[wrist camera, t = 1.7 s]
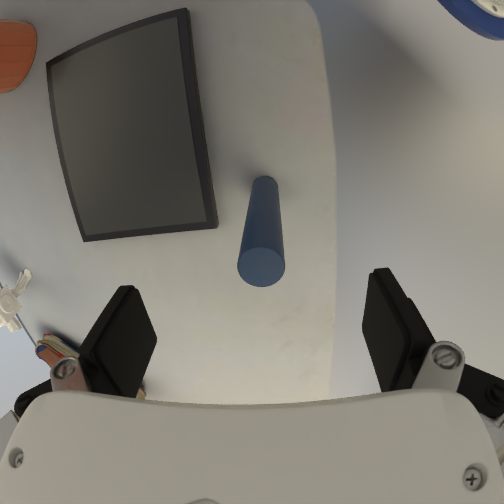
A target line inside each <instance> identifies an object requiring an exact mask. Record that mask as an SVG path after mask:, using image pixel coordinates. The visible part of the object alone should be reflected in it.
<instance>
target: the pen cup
mask: <svg viewBox="0 0 504 504" xmlns="http://www.w3.org/2000/svg"><path fill="white" fill-rule="evenodd" d="M36 46H37V35H36V31H35V28H34V27H33V26H32V24H30V23H27V22H24V21H17V20H7V19H0V93H6V92H9V91H12V90H14V89H15V88H16V87H17V86H18V85H19V84H20V83H21V82H22V81H23V80H24V78H25V77H26V75H27V73H28V71H29V69H30V67H31V65H32V62H33V60H34V56H35V52H36Z"/></svg>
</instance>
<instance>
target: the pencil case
mask: <svg viewBox="0 0 504 504" xmlns="http://www.w3.org/2000/svg"><path fill="white" fill-rule="evenodd" d="M35 352H36V355H37V356H38V357H39V358H40V359H42V360H44V361H45V362H46V363H47V364H48V365H50V366H51V367H52V366H53V365H54V363H55V362H56V361H57V360H59V359H60V358H62V357H65V356H71V355H72V356H75V357H77V358H78V357H79V353H78V351H77V350H75V349H74V348H72V347H71V346H69V345H68V344H67V343H65V342H63V341H62V340H61V339H59V338H58V337H56V336H54V335H50V334H45V335H44V338H43V341H42V340H38V341H37V346H36V349H35ZM145 397H146V393H145V391H144V390H143V389H142V388H141V387H140V388H139V390H138V393H137V396H136V398H137V399H145Z"/></svg>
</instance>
